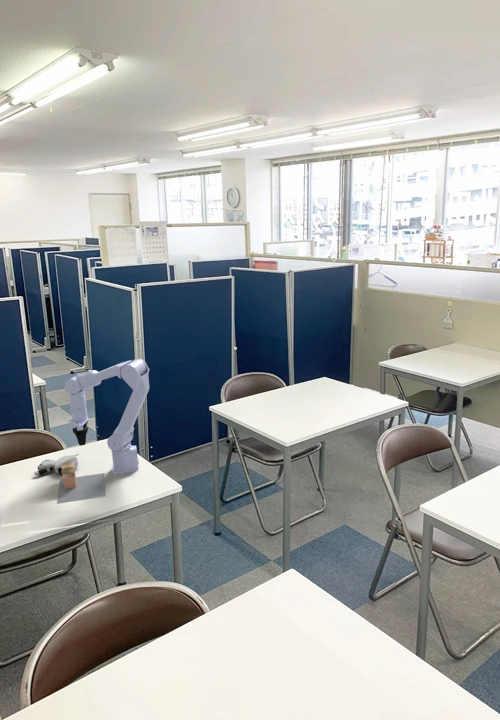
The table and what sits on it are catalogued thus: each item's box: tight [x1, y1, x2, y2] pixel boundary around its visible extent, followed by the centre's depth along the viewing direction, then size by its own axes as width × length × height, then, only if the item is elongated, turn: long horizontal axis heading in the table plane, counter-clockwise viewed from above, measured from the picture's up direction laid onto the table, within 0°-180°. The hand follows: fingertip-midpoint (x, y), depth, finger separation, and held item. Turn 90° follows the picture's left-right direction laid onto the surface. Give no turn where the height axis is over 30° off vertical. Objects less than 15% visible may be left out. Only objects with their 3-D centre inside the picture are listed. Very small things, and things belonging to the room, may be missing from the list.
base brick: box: [62, 473, 77, 489], centre depth 196 cm, size 4×4×4 cm
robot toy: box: [34, 453, 80, 476], centre depth 209 cm, size 12×4×15 cm
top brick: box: [61, 462, 76, 479], centre depth 195 cm, size 4×4×4 cm
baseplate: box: [56, 472, 107, 505], centre depth 195 cm, size 16×18×1 cm
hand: (82, 441), depth 210 cm, fingers open, 7 cm apart
